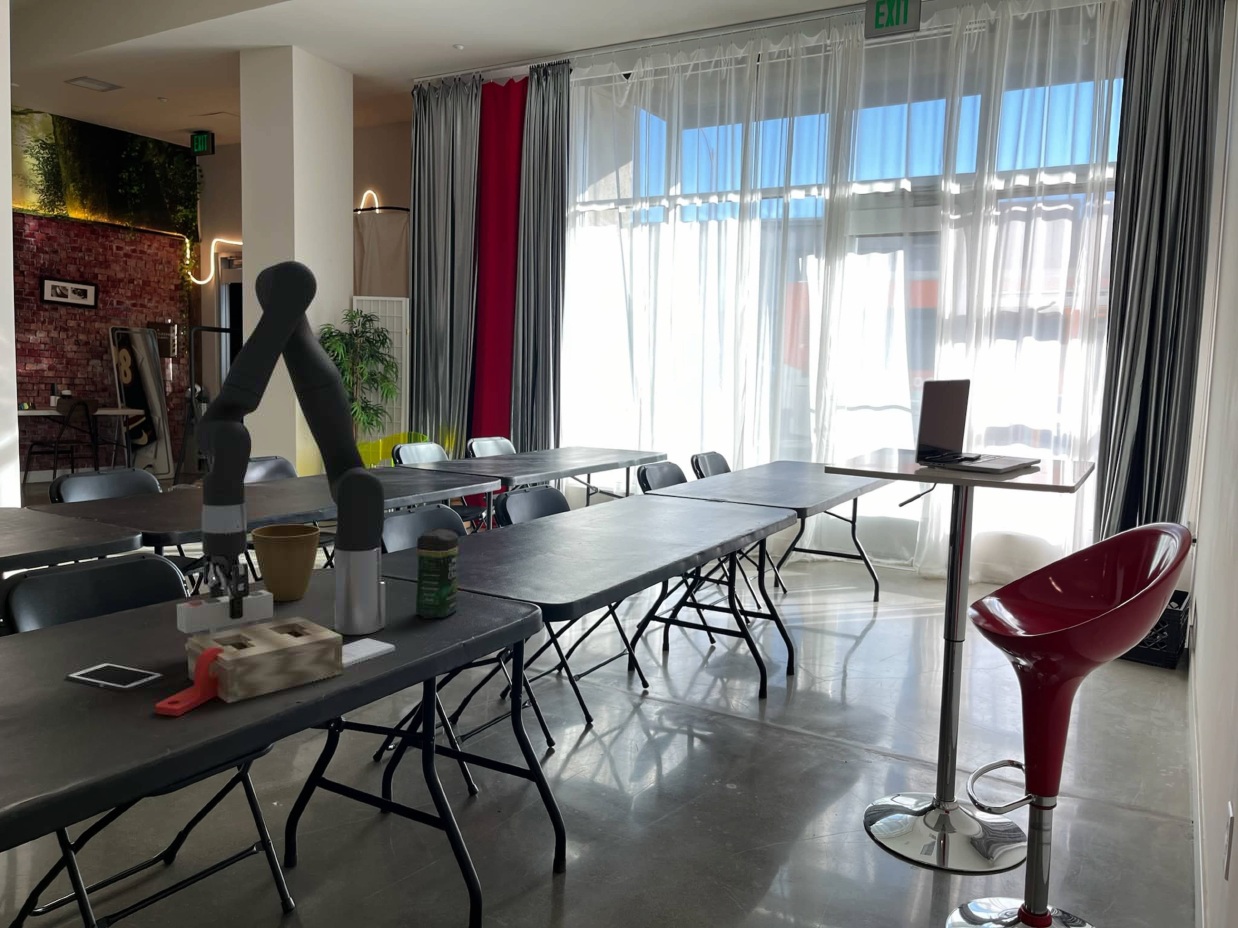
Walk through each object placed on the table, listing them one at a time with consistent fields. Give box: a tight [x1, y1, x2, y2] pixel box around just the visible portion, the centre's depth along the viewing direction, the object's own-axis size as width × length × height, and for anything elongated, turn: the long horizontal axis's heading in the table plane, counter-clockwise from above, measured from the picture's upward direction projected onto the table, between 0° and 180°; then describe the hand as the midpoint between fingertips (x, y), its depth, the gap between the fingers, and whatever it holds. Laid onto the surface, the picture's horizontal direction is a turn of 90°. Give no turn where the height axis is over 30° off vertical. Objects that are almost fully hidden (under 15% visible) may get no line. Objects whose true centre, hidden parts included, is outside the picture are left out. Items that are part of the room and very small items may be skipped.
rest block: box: [209, 622, 245, 634], centre depth 164 cm, size 5×3×6 cm, turn 137°
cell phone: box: [66, 662, 165, 693], centre depth 151 cm, size 8×15×1 cm, turn 69°
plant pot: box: [251, 523, 321, 602], centre depth 204 cm, size 15×15×16 cm
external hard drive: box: [342, 637, 396, 669], centre depth 166 cm, size 2×8×12 cm
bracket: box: [155, 647, 224, 717], centre depth 141 cm, size 12×4×8 cm, turn 167°
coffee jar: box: [415, 528, 459, 619], centre depth 194 cm, size 10×8×19 cm
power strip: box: [176, 589, 274, 651], centre depth 164 cm, size 16×4×9 cm, turn 137°
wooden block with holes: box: [187, 616, 343, 704], centre depth 153 cm, size 20×16×7 cm
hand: (226, 613), depth 164 cm, fingers open, 8 cm apart
